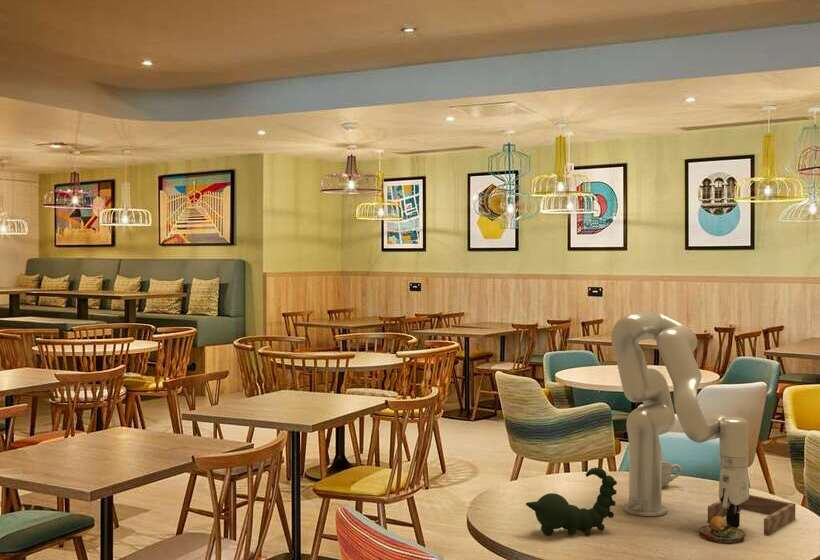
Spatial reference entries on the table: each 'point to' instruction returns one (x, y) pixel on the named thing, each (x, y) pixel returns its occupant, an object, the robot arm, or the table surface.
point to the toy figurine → (575, 509)
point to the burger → (721, 532)
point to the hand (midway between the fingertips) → (732, 526)
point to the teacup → (669, 472)
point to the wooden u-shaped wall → (761, 511)
